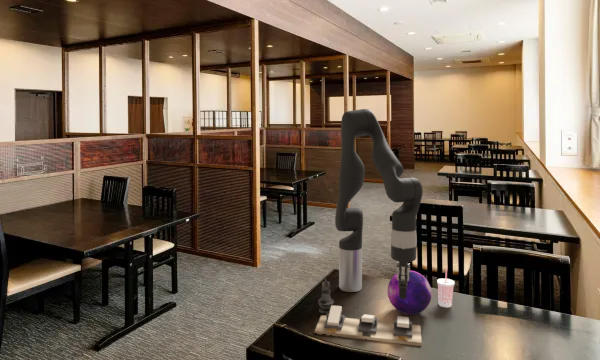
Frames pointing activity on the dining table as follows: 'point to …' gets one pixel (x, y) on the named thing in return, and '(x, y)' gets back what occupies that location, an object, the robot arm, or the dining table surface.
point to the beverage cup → (445, 291)
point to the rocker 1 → (334, 315)
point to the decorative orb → (411, 294)
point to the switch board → (371, 330)
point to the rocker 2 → (368, 318)
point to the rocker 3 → (403, 322)
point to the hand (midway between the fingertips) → (402, 298)
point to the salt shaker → (325, 298)
